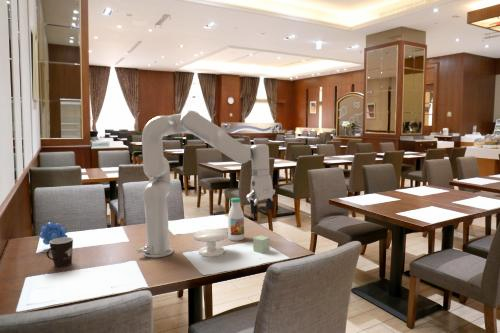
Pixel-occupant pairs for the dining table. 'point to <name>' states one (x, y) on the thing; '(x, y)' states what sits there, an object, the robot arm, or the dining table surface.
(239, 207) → the milk bottle
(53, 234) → the grapes
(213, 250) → the cake stand
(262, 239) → the block
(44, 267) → the dining table surface
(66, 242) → the coffee mug
